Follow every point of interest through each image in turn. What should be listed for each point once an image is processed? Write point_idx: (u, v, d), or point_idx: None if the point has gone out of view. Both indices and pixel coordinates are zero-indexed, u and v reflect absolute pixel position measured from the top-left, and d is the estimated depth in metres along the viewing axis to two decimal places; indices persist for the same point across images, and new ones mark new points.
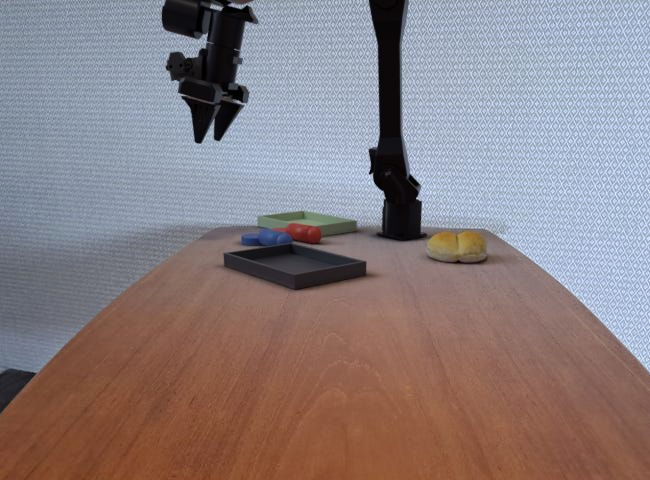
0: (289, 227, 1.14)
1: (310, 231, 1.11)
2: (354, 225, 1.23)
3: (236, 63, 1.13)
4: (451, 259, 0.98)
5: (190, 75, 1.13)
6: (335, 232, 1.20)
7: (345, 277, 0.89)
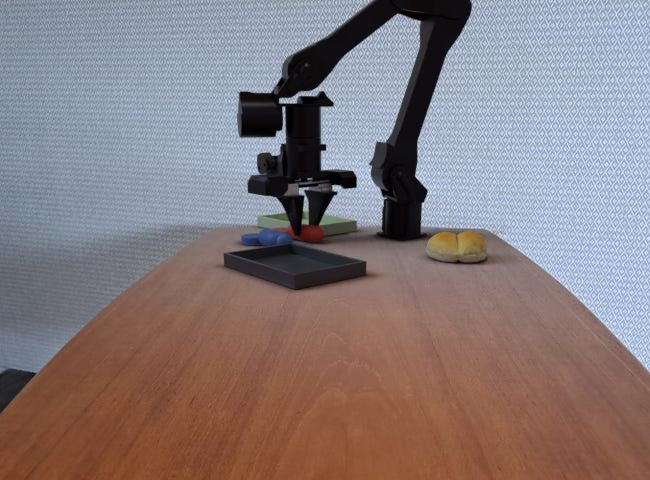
0: None
1: (313, 231, 1.11)
2: (354, 225, 1.23)
3: (311, 151, 1.07)
4: (451, 259, 0.98)
5: (278, 172, 1.12)
6: (335, 232, 1.20)
7: (345, 277, 0.89)
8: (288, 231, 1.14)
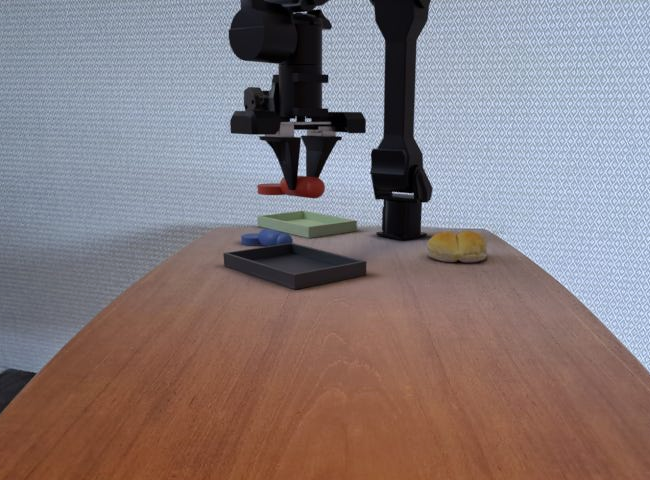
0: None
1: (310, 183, 0.90)
2: (354, 225, 1.23)
3: (310, 81, 0.86)
4: (451, 259, 0.98)
5: None
6: (335, 232, 1.20)
7: (345, 277, 0.89)
8: (281, 185, 0.94)
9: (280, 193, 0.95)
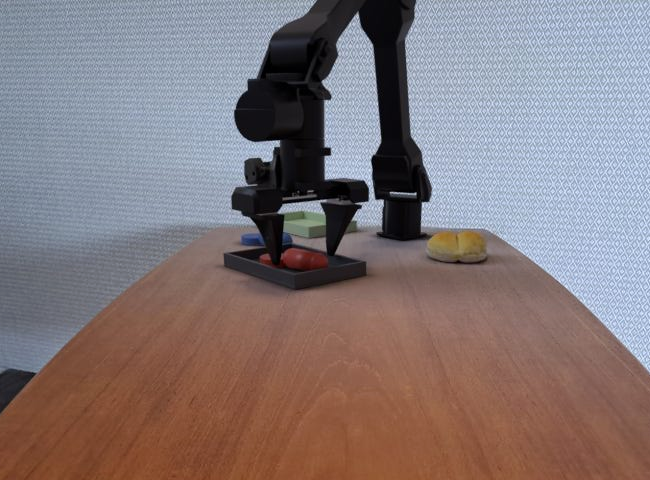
0: (287, 253, 0.92)
1: (314, 259, 0.89)
2: (354, 225, 1.23)
3: (313, 156, 0.84)
4: (451, 259, 0.98)
5: (270, 183, 0.89)
6: None
7: (345, 277, 0.89)
8: (284, 259, 0.92)
9: (283, 266, 0.93)
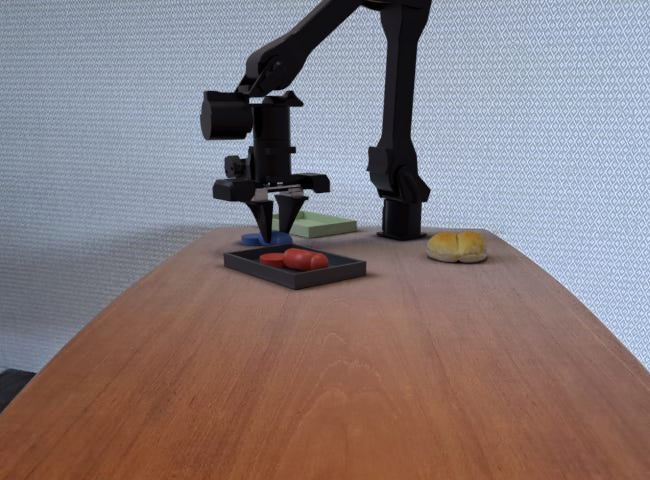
0: (287, 253, 0.92)
1: (314, 259, 0.89)
2: (354, 225, 1.23)
3: (280, 153, 1.01)
4: (451, 259, 0.98)
5: (246, 176, 1.06)
6: (335, 232, 1.20)
7: (345, 277, 0.89)
8: (284, 259, 0.92)
9: (283, 266, 0.93)
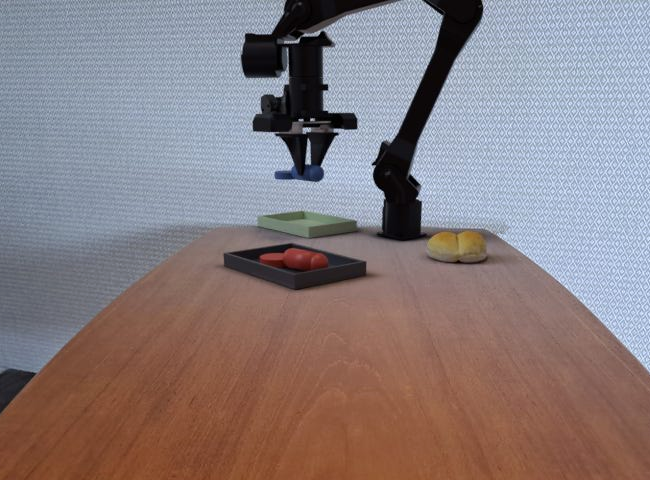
0: (287, 253, 0.92)
1: (314, 259, 0.89)
2: (354, 225, 1.23)
3: (314, 90, 1.10)
4: (451, 259, 0.98)
5: (281, 113, 1.15)
6: (335, 232, 1.20)
7: (345, 277, 0.89)
8: (284, 259, 0.92)
9: (283, 266, 0.93)
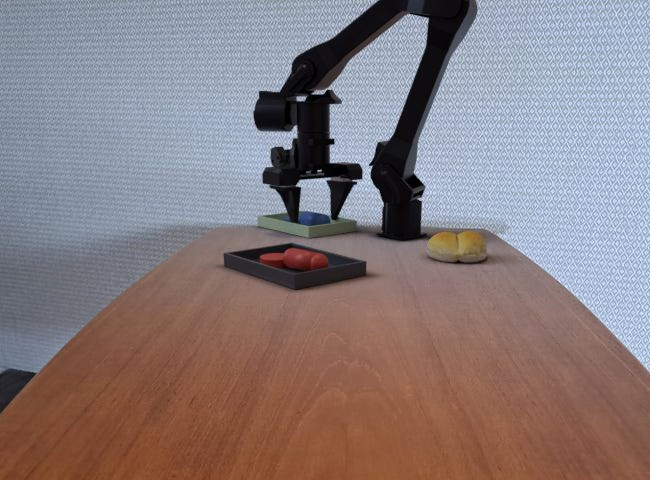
0: (287, 253, 0.92)
1: (314, 259, 0.89)
2: (354, 225, 1.23)
3: (321, 145, 1.16)
4: (451, 259, 0.98)
5: (289, 165, 1.21)
6: (335, 232, 1.20)
7: (345, 277, 0.89)
8: (284, 259, 0.92)
9: (283, 266, 0.93)
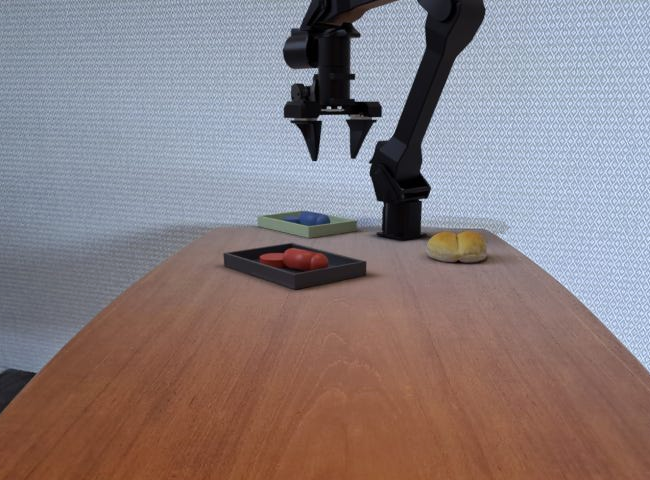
0: (287, 253, 0.92)
1: (314, 259, 0.89)
2: (354, 225, 1.23)
3: (342, 79, 1.17)
4: (451, 259, 0.98)
5: None
6: (335, 232, 1.20)
7: (345, 277, 0.89)
8: (284, 259, 0.92)
9: (283, 266, 0.93)
